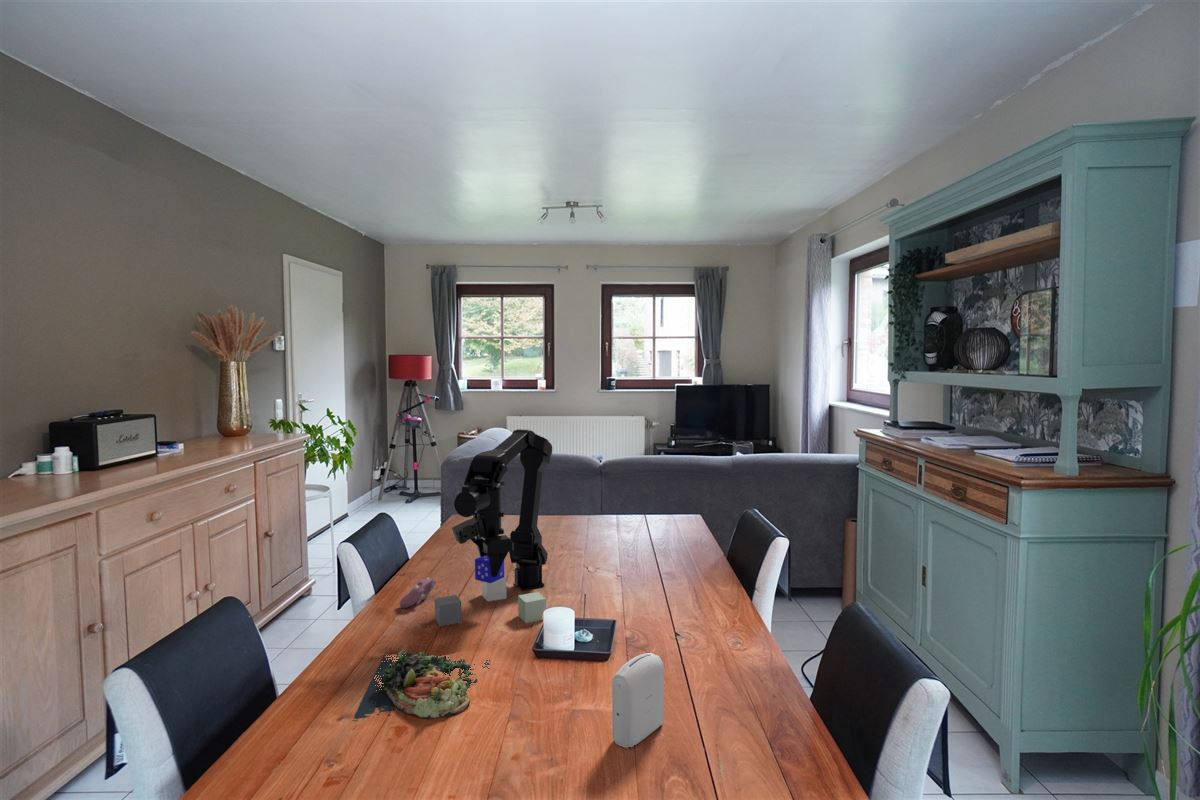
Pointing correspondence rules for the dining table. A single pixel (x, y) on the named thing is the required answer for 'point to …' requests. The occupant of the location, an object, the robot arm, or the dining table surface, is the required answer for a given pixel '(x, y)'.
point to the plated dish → (417, 686)
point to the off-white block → (494, 590)
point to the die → (486, 570)
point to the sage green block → (531, 607)
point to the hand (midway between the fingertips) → (489, 572)
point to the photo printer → (637, 699)
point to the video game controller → (418, 593)
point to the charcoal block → (448, 610)
